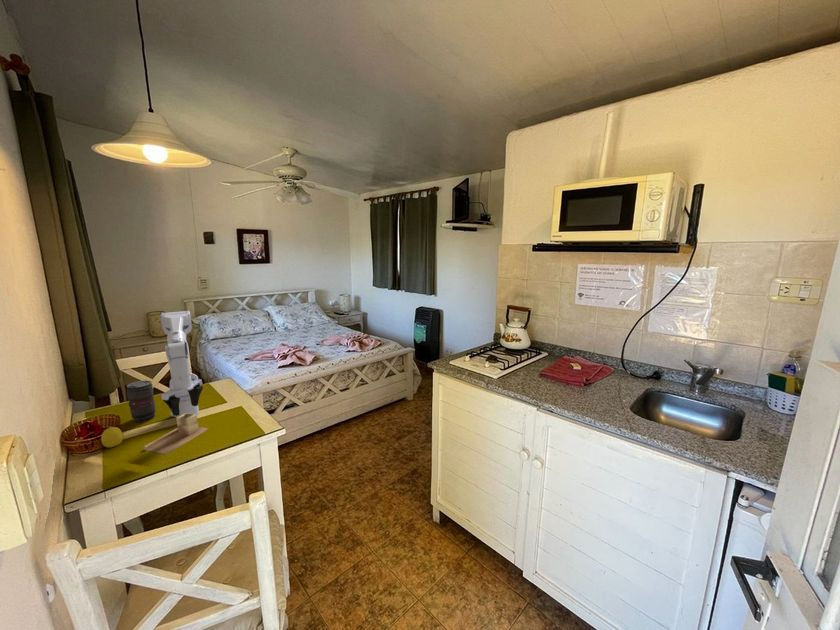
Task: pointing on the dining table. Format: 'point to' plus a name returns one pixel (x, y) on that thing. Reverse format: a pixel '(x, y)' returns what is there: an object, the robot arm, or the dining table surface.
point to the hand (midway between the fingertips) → (185, 410)
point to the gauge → (187, 423)
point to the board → (171, 441)
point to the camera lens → (141, 400)
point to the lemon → (112, 437)
